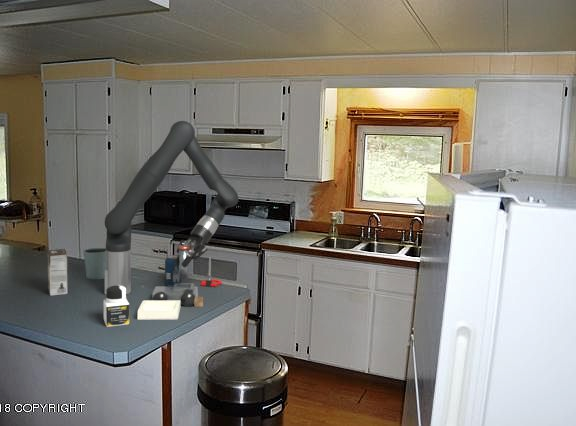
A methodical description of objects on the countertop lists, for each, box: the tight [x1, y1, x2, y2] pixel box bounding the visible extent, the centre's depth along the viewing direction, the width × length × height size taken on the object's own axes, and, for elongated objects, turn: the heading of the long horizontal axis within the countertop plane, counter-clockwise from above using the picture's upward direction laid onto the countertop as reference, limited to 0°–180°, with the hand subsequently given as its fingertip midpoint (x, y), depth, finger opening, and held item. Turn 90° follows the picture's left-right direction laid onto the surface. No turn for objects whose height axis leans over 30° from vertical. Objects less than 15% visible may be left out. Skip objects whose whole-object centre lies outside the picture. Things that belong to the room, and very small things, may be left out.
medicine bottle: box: [103, 285, 130, 328], centre depth 161 cm, size 7×7×12 cm
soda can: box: [164, 254, 183, 286], centre depth 207 cm, size 7×7×12 cm
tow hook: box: [200, 255, 222, 288], centre depth 210 cm, size 8×13×9 cm
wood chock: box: [194, 296, 204, 308], centre depth 181 cm, size 3×2×3 cm
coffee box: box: [46, 248, 68, 296], centre depth 190 cm, size 9×6×16 cm
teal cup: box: [82, 247, 106, 280], centre depth 213 cm, size 10×10×12 cm
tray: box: [137, 299, 181, 321], centre depth 171 cm, size 13×11×3 cm
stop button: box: [177, 244, 190, 279], centre depth 185 cm, size 4×4×12 cm
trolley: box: [151, 282, 199, 308], centre depth 185 cm, size 16×12×6 cm
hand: (179, 264), depth 183 cm, fingers closed on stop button, 3 cm apart
